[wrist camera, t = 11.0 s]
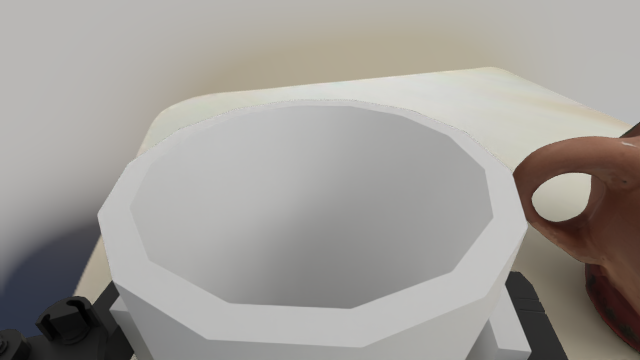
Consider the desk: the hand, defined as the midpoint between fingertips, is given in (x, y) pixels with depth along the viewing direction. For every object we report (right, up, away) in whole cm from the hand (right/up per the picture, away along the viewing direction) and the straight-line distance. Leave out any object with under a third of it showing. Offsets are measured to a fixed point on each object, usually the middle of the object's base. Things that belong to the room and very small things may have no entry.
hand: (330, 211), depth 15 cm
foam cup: (0, -9, +1) cm, 9 cm away
